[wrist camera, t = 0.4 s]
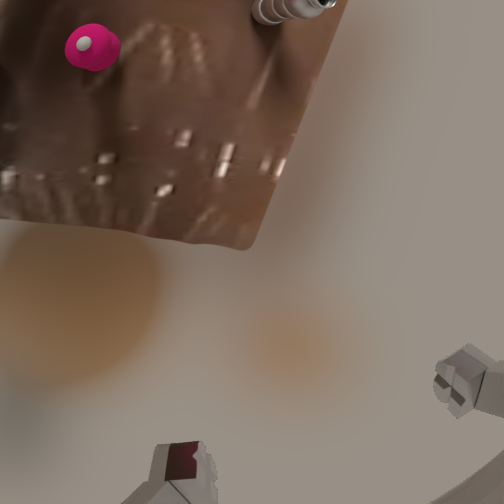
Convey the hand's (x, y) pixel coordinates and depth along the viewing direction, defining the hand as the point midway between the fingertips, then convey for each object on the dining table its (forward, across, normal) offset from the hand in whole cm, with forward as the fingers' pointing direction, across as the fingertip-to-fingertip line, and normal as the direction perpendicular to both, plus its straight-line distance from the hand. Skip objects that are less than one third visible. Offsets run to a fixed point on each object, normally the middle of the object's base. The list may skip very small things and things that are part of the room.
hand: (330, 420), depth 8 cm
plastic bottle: (+42, -14, -40) cm, 60 cm away
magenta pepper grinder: (+38, +16, -37) cm, 55 cm away
